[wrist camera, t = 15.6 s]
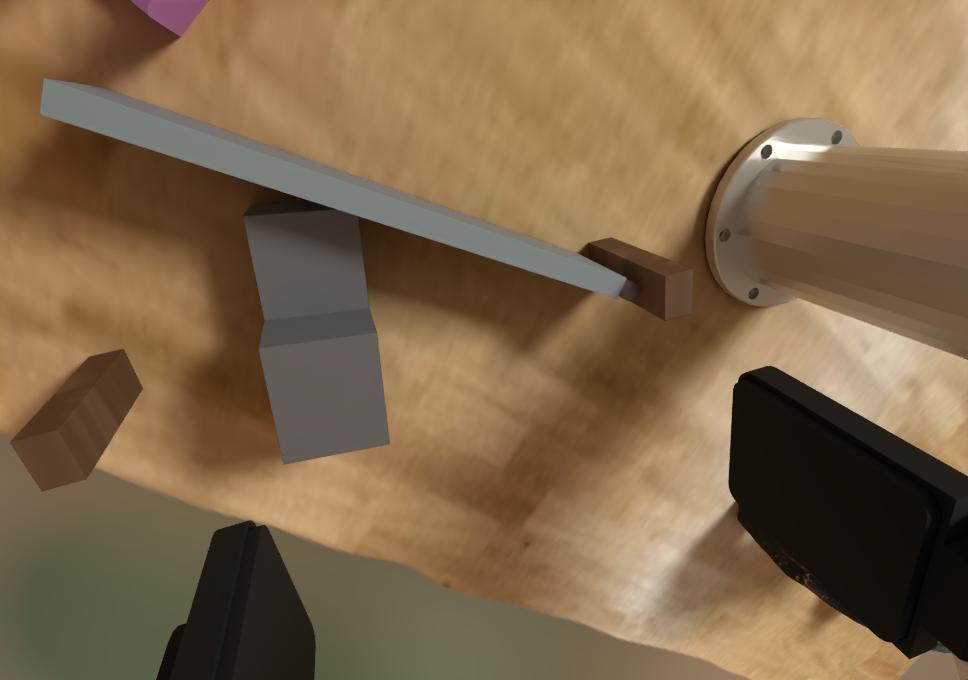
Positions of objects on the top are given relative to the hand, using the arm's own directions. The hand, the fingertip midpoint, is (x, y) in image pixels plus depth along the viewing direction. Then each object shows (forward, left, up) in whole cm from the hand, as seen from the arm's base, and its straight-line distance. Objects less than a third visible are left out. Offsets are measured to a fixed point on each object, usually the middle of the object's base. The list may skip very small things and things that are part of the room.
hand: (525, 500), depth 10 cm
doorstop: (+4, +2, -22) cm, 22 cm away
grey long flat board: (-1, -3, -21) cm, 22 cm away
